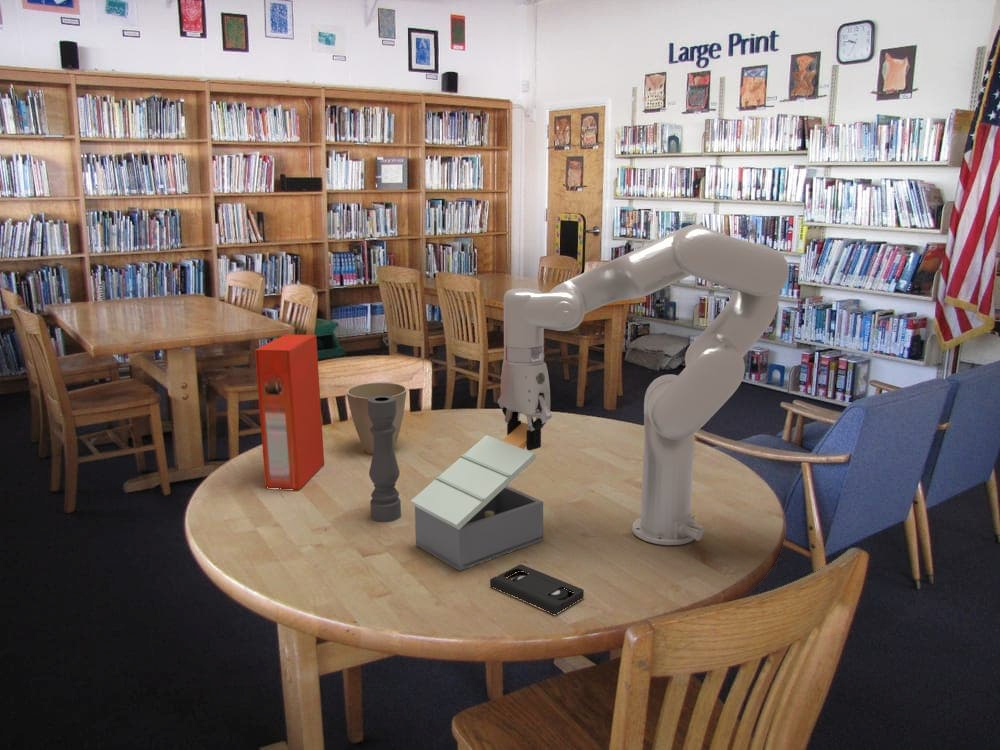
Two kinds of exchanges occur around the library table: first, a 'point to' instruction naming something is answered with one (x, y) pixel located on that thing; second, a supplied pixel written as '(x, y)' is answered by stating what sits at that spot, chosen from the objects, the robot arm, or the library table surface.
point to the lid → (476, 478)
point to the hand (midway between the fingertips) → (523, 444)
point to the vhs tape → (538, 589)
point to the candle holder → (383, 460)
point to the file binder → (290, 410)
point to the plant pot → (360, 409)
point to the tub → (483, 530)
